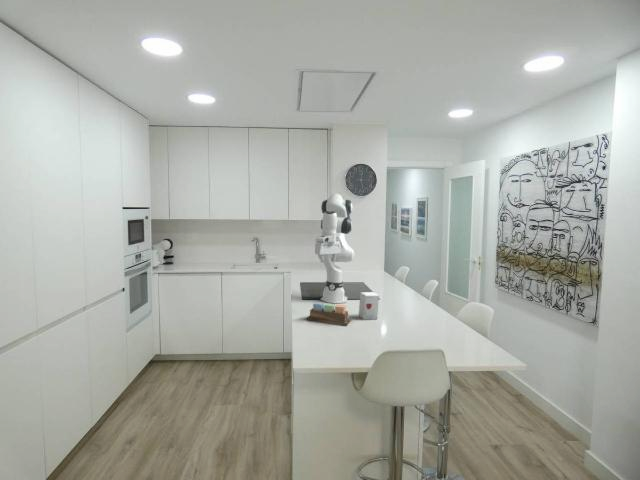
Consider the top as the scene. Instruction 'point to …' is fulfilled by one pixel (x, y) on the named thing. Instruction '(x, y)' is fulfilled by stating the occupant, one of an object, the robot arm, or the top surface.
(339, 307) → the terracotta block
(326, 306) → the sage block
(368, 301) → the supplement box
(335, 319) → the divided box
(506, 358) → the top surface
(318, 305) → the blue block
